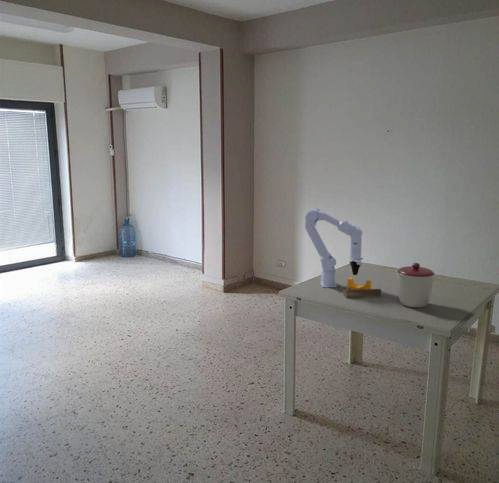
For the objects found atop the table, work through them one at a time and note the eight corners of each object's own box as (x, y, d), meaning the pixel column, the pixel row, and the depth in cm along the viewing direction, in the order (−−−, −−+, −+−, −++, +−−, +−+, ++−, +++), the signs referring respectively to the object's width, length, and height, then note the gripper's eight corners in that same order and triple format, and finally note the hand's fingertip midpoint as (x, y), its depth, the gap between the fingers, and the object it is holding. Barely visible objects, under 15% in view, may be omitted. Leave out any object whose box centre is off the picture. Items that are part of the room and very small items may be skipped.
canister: (397, 310, 230) (399, 267, 226) (391, 298, 247) (393, 258, 243) (437, 311, 227) (440, 268, 223) (428, 299, 245) (431, 259, 241)
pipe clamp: (346, 290, 261) (346, 279, 260) (348, 288, 265) (349, 277, 263) (368, 293, 255) (369, 282, 254) (370, 291, 259) (371, 280, 258)
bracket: (342, 293, 255) (343, 286, 254) (376, 293, 256) (376, 285, 255) (346, 297, 249) (346, 290, 248) (380, 296, 250) (380, 289, 249)
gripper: (367, 253, 254) (366, 277, 257) (359, 247, 268) (358, 271, 271) (353, 253, 254) (353, 278, 256) (346, 247, 268) (345, 271, 271)
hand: (354, 274), depth 264 cm, fingers closed
